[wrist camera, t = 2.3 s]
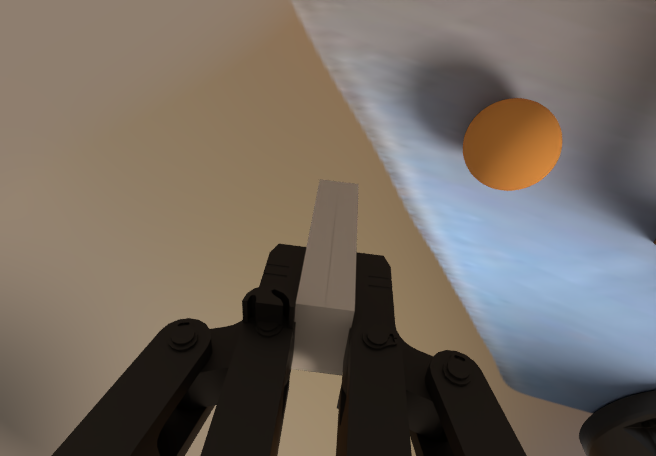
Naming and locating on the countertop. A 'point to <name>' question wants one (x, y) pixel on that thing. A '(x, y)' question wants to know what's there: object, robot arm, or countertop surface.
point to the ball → (512, 144)
